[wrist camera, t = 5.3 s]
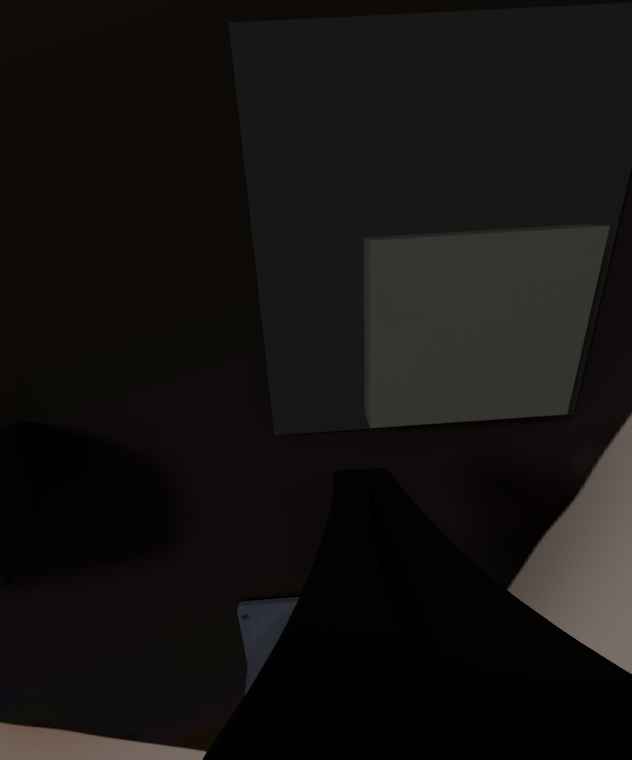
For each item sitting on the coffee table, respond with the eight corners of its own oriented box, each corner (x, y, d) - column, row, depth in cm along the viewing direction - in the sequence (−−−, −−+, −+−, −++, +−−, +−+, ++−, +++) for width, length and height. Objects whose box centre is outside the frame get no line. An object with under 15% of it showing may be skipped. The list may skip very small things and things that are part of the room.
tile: (364, 411, 19) (547, 398, 20) (369, 428, 18) (567, 414, 18) (363, 237, 16) (582, 223, 16) (369, 240, 15) (609, 225, 15)
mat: (566, 408, 21) (573, 414, 20) (275, 429, 20) (274, 435, 20) (656, 8, 14) (670, 0, 14) (231, 29, 14) (228, 22, 13)
